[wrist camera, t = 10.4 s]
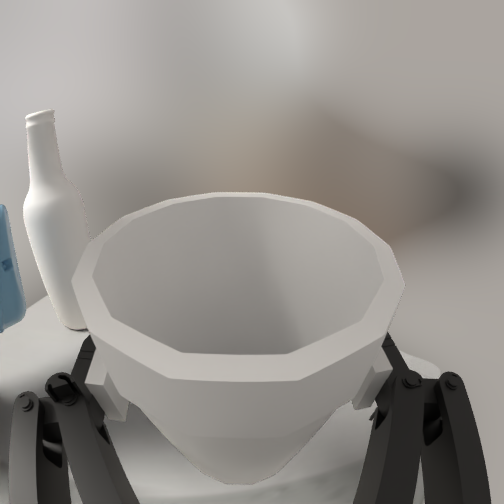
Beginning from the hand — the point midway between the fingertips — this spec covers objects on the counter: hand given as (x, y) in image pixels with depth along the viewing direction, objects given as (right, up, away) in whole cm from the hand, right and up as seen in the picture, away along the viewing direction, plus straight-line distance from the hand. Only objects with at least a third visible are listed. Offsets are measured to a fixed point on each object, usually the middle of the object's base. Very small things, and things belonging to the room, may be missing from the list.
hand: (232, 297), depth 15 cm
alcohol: (-25, -7, +25) cm, 36 cm away
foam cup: (0, -9, 0) cm, 9 cm away
